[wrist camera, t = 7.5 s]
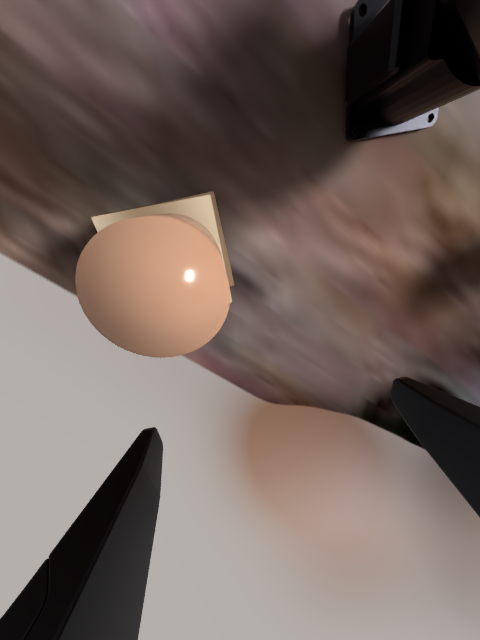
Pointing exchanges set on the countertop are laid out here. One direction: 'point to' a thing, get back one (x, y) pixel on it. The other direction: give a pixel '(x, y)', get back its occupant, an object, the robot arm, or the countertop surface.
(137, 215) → the maple block
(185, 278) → the tan rounded piece
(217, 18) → the countertop surface
